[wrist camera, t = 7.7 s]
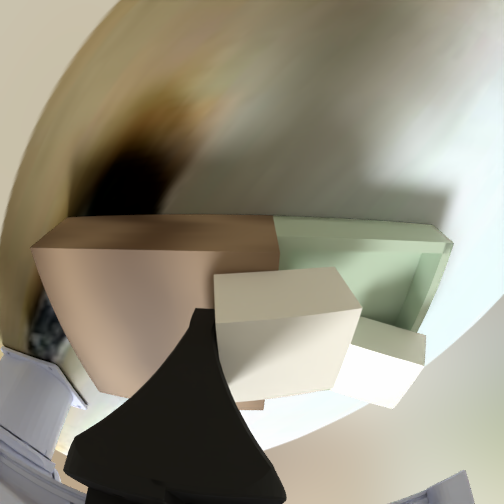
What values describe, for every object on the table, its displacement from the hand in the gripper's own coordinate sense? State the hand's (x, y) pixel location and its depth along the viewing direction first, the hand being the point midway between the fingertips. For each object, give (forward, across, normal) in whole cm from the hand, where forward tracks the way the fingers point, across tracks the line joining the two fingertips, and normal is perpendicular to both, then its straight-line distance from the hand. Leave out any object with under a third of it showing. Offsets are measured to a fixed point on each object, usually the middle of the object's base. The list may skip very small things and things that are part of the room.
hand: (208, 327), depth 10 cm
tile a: (0, -9, +5) cm, 10 cm away
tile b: (+1, -2, 0) cm, 3 cm away
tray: (+4, -7, +3) cm, 9 cm away
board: (+4, +3, +3) cm, 6 cm away
